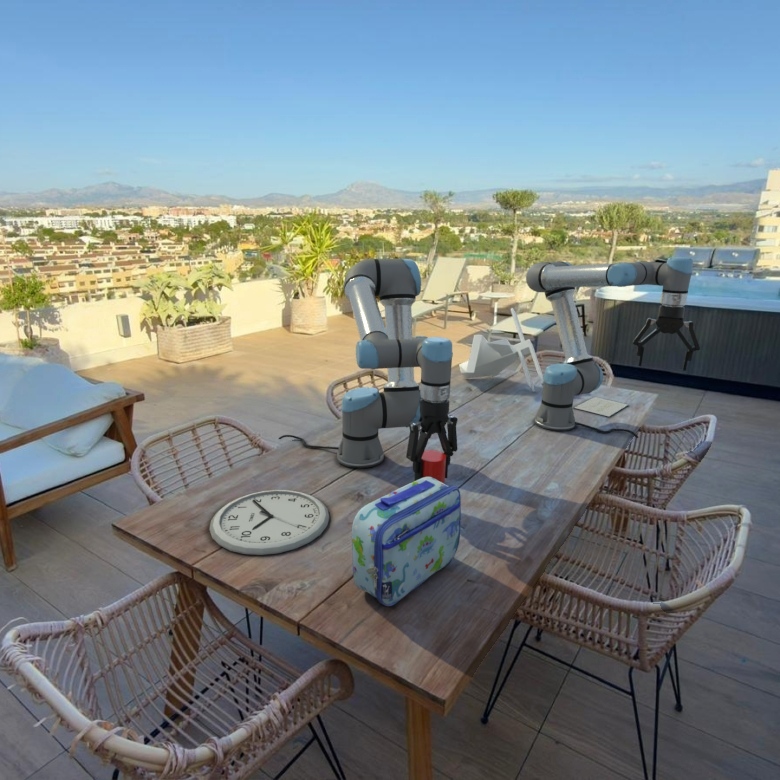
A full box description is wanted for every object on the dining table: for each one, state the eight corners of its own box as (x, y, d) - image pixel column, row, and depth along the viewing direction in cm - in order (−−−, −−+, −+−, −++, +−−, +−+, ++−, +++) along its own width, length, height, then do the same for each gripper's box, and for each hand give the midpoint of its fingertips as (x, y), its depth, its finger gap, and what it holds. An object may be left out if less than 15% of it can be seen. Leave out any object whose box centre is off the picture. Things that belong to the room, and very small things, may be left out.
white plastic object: (480, 420, 263) (459, 397, 239) (461, 347, 286) (440, 319, 261) (551, 396, 251) (537, 369, 226) (526, 322, 273) (511, 290, 249)
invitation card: (608, 416, 214) (573, 407, 224) (608, 416, 214) (573, 408, 224) (628, 404, 229) (594, 396, 238) (628, 405, 229) (594, 397, 238)
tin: (412, 485, 142) (413, 453, 140) (434, 480, 146) (435, 448, 143) (426, 497, 136) (428, 463, 134) (449, 491, 140) (451, 458, 137)
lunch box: (381, 619, 101) (382, 525, 95) (345, 592, 109) (344, 503, 102) (464, 563, 119) (469, 480, 113) (428, 543, 126) (432, 464, 120)
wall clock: (327, 546, 121) (194, 551, 119) (327, 552, 122) (195, 557, 119) (330, 485, 150) (223, 488, 147) (330, 490, 150) (224, 493, 148)
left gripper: (408, 409, 126) (405, 493, 133) (475, 397, 135) (469, 477, 142) (393, 400, 132) (391, 481, 139) (458, 389, 141) (453, 466, 148)
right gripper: (631, 304, 174) (622, 365, 181) (717, 309, 165) (704, 374, 171) (631, 301, 181) (622, 360, 187) (714, 306, 172) (701, 369, 178)
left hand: (431, 479), depth 140 cm, fingers closed on tin, 7 cm apart
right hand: (661, 367), depth 179 cm, fingers open, 13 cm apart
